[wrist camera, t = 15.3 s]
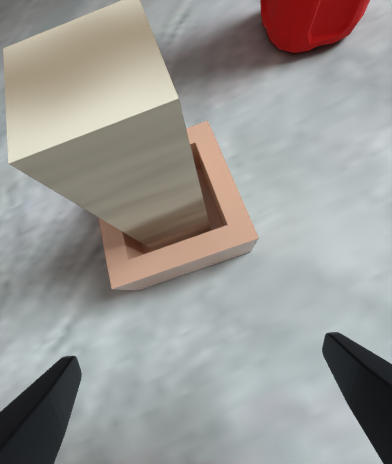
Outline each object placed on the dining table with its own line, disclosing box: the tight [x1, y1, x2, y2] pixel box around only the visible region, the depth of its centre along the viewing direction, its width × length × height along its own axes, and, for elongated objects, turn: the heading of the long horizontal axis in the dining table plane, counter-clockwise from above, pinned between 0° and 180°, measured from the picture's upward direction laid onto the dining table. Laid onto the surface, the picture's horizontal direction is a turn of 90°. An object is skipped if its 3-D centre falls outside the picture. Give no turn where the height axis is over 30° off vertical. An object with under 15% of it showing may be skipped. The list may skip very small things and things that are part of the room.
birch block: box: [3, 0, 211, 251], centre depth 12 cm, size 5×5×12 cm
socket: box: [98, 121, 259, 290], centre depth 17 cm, size 10×10×4 cm
